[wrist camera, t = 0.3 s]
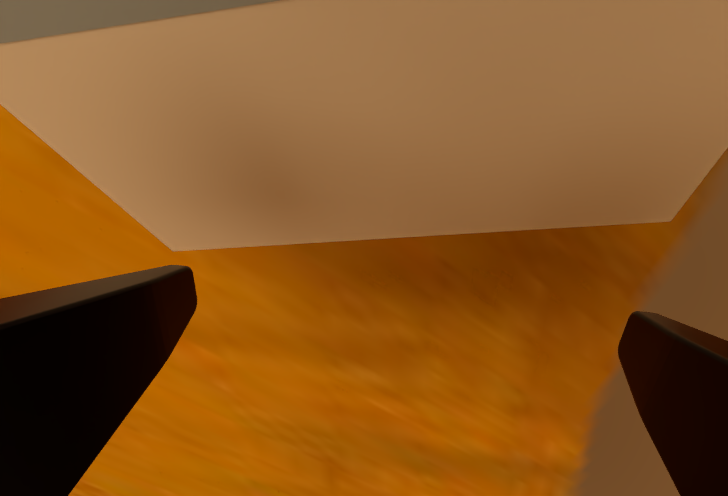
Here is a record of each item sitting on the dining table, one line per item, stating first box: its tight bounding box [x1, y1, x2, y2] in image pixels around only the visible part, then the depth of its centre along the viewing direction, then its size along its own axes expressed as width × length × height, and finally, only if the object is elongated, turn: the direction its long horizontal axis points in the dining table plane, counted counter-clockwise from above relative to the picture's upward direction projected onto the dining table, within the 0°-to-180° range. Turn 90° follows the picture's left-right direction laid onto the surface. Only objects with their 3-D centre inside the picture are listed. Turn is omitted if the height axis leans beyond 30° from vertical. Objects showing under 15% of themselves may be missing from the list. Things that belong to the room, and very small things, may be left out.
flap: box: [0, 0, 728, 251], centre depth 14 cm, size 12×21×1 cm
